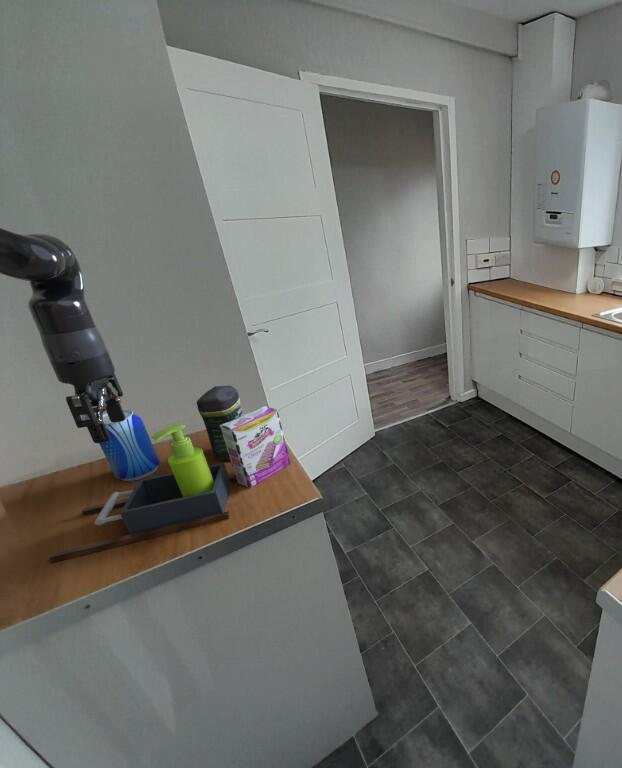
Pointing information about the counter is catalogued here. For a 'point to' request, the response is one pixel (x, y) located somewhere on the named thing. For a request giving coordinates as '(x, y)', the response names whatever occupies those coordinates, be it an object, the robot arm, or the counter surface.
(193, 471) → the soap dispenser
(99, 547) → the rails
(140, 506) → the tray
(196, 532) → the counter surface
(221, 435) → the coffee jar
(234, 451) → the candy bar box
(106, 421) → the beer can
